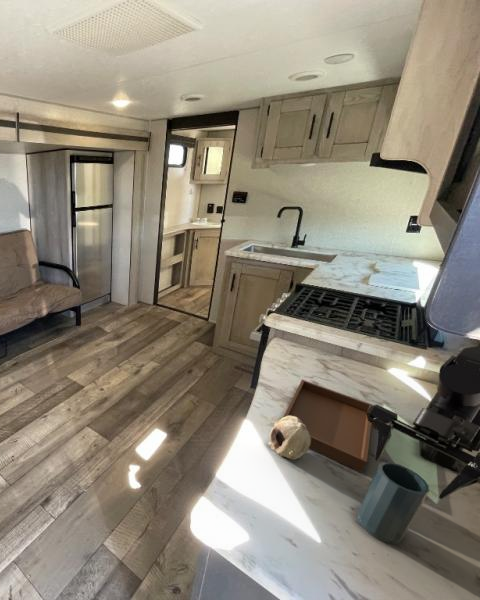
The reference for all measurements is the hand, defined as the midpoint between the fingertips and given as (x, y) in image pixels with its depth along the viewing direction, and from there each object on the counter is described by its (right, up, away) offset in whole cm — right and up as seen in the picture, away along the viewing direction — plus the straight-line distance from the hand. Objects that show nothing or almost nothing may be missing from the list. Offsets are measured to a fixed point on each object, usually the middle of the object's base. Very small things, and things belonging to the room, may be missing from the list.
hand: (405, 478), depth 61 cm
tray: (+7, -1, +29) cm, 29 cm away
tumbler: (-3, -10, +2) cm, 11 cm away
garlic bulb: (-11, -4, +19) cm, 22 cm away
